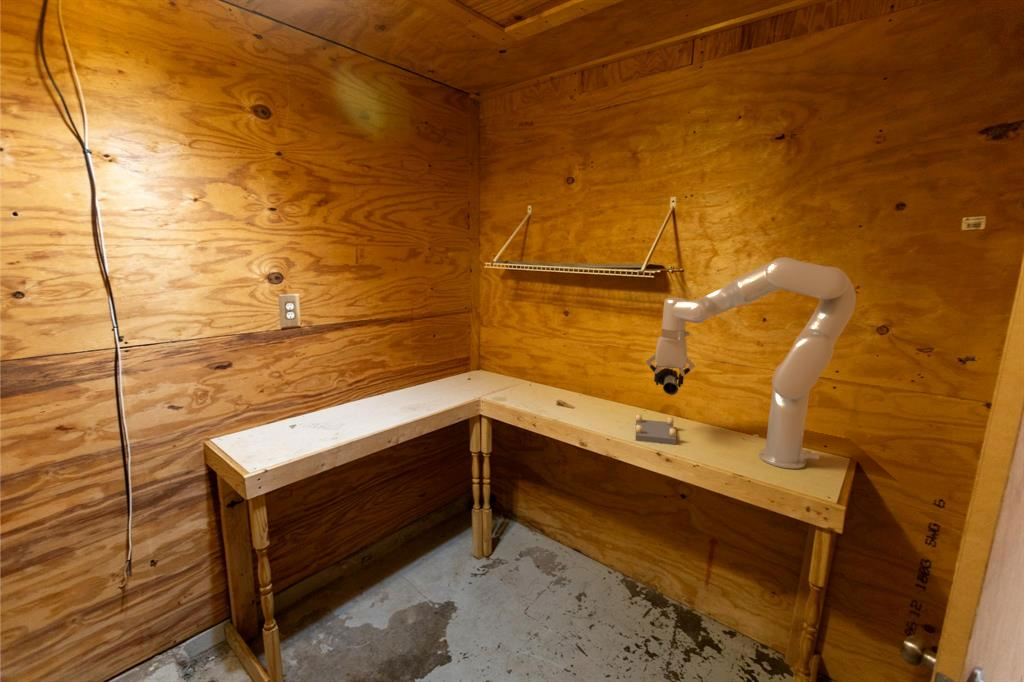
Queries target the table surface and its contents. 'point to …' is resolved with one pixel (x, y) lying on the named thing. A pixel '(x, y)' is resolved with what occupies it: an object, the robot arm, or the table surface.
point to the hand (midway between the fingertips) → (668, 384)
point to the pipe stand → (655, 431)
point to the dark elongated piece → (668, 380)
